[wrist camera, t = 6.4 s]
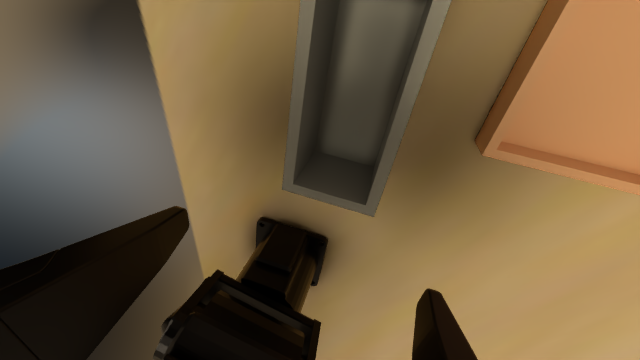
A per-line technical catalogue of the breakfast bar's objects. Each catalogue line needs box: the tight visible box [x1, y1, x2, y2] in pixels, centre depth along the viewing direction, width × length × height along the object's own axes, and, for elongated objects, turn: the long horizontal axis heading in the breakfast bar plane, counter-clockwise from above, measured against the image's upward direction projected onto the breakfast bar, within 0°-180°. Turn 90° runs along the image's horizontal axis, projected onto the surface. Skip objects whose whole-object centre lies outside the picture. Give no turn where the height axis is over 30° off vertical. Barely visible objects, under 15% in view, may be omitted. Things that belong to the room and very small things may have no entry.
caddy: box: [282, 0, 452, 217], centre depth 14 cm, size 11×5×5 cm, turn 171°
